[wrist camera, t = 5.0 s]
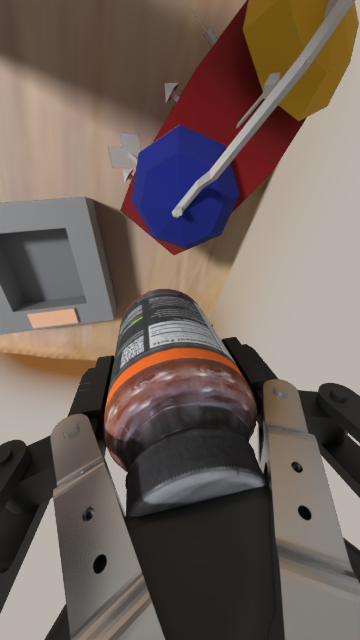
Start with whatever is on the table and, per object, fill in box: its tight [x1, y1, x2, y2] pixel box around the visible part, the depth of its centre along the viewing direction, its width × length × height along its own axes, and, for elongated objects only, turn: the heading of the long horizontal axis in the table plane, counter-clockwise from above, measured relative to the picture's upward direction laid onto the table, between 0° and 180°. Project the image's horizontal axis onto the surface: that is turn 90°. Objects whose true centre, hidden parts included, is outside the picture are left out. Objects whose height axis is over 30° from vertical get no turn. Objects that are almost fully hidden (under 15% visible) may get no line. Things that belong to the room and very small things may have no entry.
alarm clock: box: [108, 0, 359, 255], centre depth 15 cm, size 15×9×20 cm, turn 140°
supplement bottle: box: [104, 289, 268, 517], centre depth 11 cm, size 6×6×11 cm
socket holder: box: [0, 197, 117, 335], centre depth 24 cm, size 13×13×4 cm
